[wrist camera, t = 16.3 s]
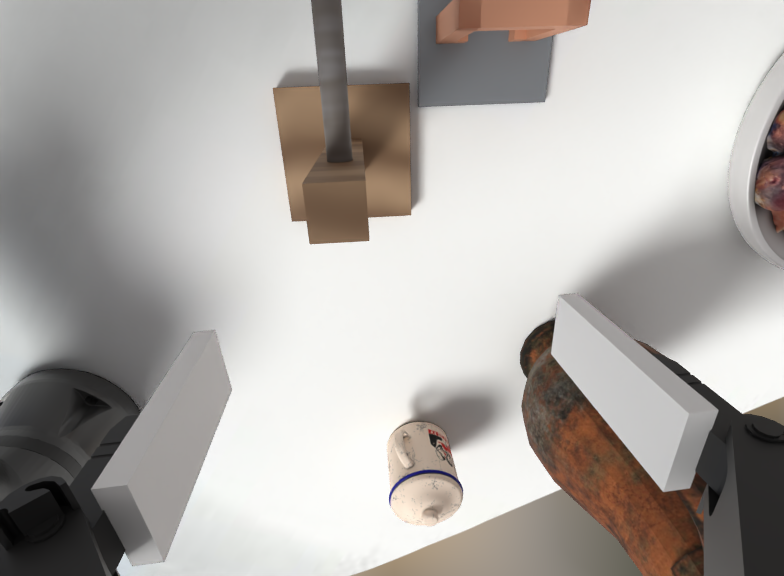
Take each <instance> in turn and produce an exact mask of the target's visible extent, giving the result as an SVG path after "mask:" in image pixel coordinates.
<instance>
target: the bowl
mask: <svg viewBox="0 0 784 576" xmlns="http://www.w3.org/2000/svg"><path fill="white" fill-rule="evenodd" d="M728 196H729V203H730V208H731V212H732V215H733V218H734V221H735V223H736V226H737V228H738V230H739V232H740V233H741V235H742V236H743V238H744V239H745V241H746V242H747V243H748V245H749V246H750V247H751V248H752V249H753V250H754V251H755V252H756V253H757V254H759V255H760V256H761V257H762V258H764V259H765V260H767V261H768V262H770V263H771V264H773V265H775V266H777V267H779V268H781V269H783V270H784V53H783V54H782V55H781V57H780V58H779V59H778V60H777V62H776V63H775V64H774V66H773V67H772V69H771V70H770V71H769V73H768V74H767V76H766V77H765V79H764V80H763V82H762V83H761V85H760V87H759V88H758V90H757V91H756V93H755V95H754V97H753V99H752V100H751V102H750V104H749V106H748V108H747V110H746V112H745V115H744V117H743V119H742V121H741V124H740V127H739V129H738V132H737V135H736V138H735V141H734V145H733V149H732V153H731V158H730V164H729V171H728Z"/></svg>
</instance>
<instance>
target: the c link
mask: <svg viewBox="0 0 784 576" xmlns="http://www.w3.org/2000/svg"><path fill="white" fill-rule="evenodd" d="M590 3H591V0H452V1H451V2H450V3H449V4H448V5H447V6H446V7H445V8H444V9H443V10H442V11H441V12H440V13H439V14H438V15H437V16H436V44H448V43H465V42H467V41H468V35H469V34H470V33H472V32H474V31H497V30H509V38H508V42H513V41H537V40H540V39H543V38H546V37H550V36H553V35H556V34H559V33H563V32H566V31H569V30H572V29H576V28H579V27H582V26H585V25H587V24H588V17H589V10H590Z"/></svg>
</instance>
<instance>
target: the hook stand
mask: <svg viewBox="0 0 784 576" xmlns="http://www.w3.org/2000/svg"><path fill="white" fill-rule="evenodd" d="M311 4H312V14H313V24H314V34H315V44H316V54H317V64H318V74H319V84H320V86H312V87H284V88H273V94H274V100H275V107H276V114H277V121H278V128H279V135H280V142H281V149H282V156H283V163H284V170H285V176H286V183H287V190H288V197H289V204H290V211H291V218H292V221H307V227H308V235H309V243H310V244H322V243H340V242H358V241H369V226H368V217H386V216H405V215H411V170H410V95H409V83H395V84H367V85H347V75H346V61H345V47H344V33H343V20H342V6H341V0H311Z"/></svg>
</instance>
